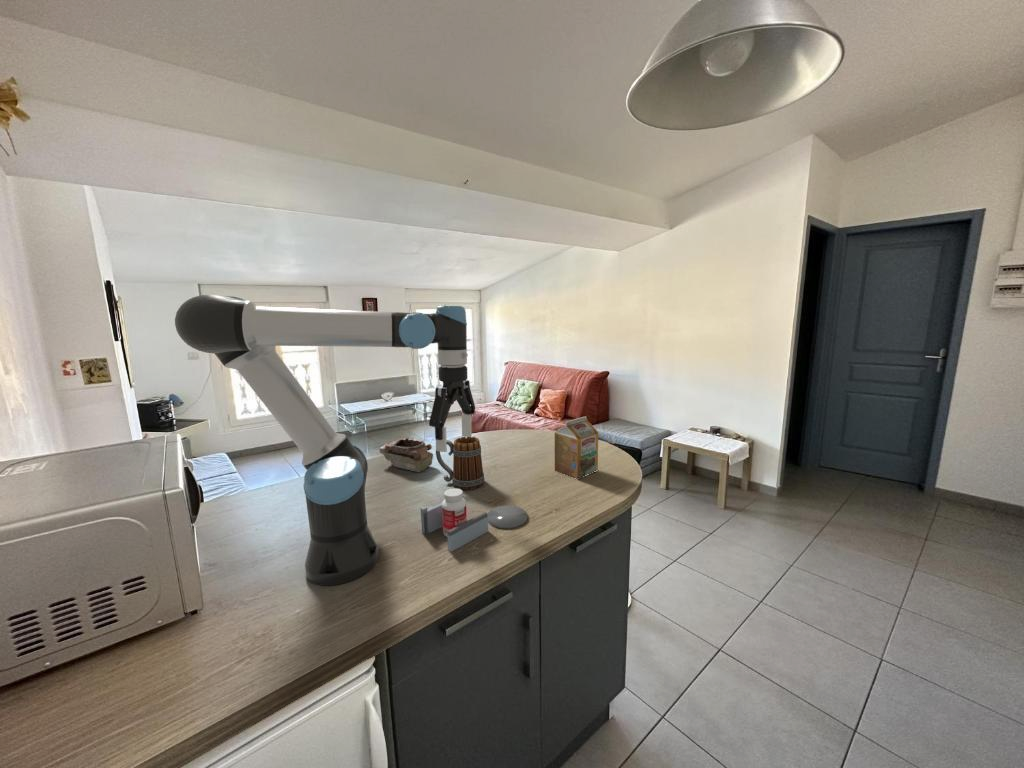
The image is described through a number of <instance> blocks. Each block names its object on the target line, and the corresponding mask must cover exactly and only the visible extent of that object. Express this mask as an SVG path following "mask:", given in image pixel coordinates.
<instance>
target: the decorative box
mask: <svg viewBox="0 0 1024 768" xmlns="http://www.w3.org/2000/svg"><path fill="white" fill-rule="evenodd" d="M432 447H433V446H432V445H431V443H425V440H424V439H421V438H417V437H416V438H414V437H404V438H399V439H397V440H393V441H391V442H386V443H385V444H383V446H380V447H379V453H380V454H382V455H383V456H384V458H385V459H386V461H389V462H390V463H391V464H392V465H393V467H395V468H399V469H403V470H406V471H408V470H409V471H411V472H416V473H420V472H422V471H426V470H427V468H428V467H430V466H432V465H433V460H434V459H433V458H434V453H432V452H430V450H432Z"/></svg>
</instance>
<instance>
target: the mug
mask: <svg viewBox="0 0 1024 768" xmlns="http://www.w3.org/2000/svg"><path fill="white" fill-rule="evenodd" d="M446 442H447V446H448V447H449V452H448V453H447V454H448V456H450V457H451V456H452V455H453V458H452V459H453V463H452V465H453V466H452V467H453V468H451V467H450V466H449V465H447V464H446V462H444V460H443V458H442V455H441V452H440V451H436V450H435V457H436V459H437V462H438V464H439V466H441V468H442V469H444V471H446V473H448V474H445V475H444V476H443V479H444V481H445V482H447V483H448V482H449V483H450V482H452V485H453V487H455V488H456V489H461V490H462V491H471V490H475V489H479V488H480V487H482V486H483V484H484V483H485V473H484V469H483V468H484V467H483V460H482V445H481V441H480V439H479V438H478V437H476V436H471V437H465V436H461V437H457V438H456V439H454V441H453V442H452V441H451V440H449V439H446ZM448 475H449V476H448Z"/></svg>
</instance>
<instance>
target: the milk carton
mask: <svg viewBox="0 0 1024 768" xmlns="http://www.w3.org/2000/svg"><path fill="white" fill-rule="evenodd" d="M564 425H565V426H562V427H560V428H558V429H556V431H555V432H554V472H556V471H557V473H558V474H561V473H562V474H561V475H564V474H565V475H564V476H566V475H568V476H567V477H569V476H570V477H569V478H571V477H573V478H576V479H578V478H581V477H583V476H585V475H587V474H590V473H592V472H594V471H596V470H599V465H598V464H599V462H598V461H599V432H598V431H597V429H596V428H595V426H594V425H592V423H590V421H588V418H587V416H582V417H578V418H575V419H571V420H567V421H565V424H564ZM573 478H572V479H573ZM576 479H575V480H576ZM581 479H582V478H581Z"/></svg>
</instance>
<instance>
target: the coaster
mask: <svg viewBox="0 0 1024 768" xmlns="http://www.w3.org/2000/svg"><path fill="white" fill-rule="evenodd" d="M487 517H488V525H491V527H495V528H498V529H506V530H507V529H515V528H518V527H520V526H522V525H524V524H526V522H527V521H528V513H527V511H526V510H525V509H524V508H522V507H520V506H516V505H508V504H506V505H499V506H496V507H494V508H491V509H490V510H489V511H488V512H487Z"/></svg>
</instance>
